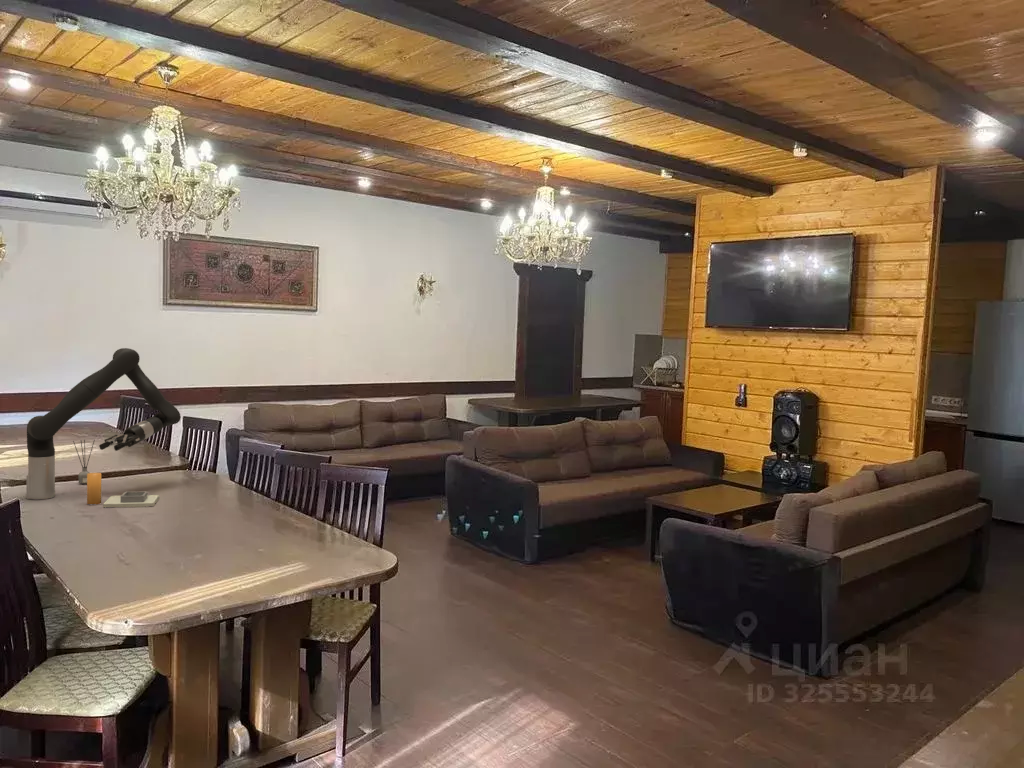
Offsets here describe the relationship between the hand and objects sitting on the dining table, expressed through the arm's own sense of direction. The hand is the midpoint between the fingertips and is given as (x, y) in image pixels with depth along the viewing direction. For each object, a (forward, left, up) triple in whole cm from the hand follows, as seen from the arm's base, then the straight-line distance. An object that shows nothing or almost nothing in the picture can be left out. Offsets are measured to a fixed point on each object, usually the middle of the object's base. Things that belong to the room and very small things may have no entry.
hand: (107, 448), depth 308 cm
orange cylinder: (-3, -7, -21) cm, 23 cm away
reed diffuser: (-15, +31, -21) cm, 40 cm away
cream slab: (+11, -8, -21) cm, 25 cm away
